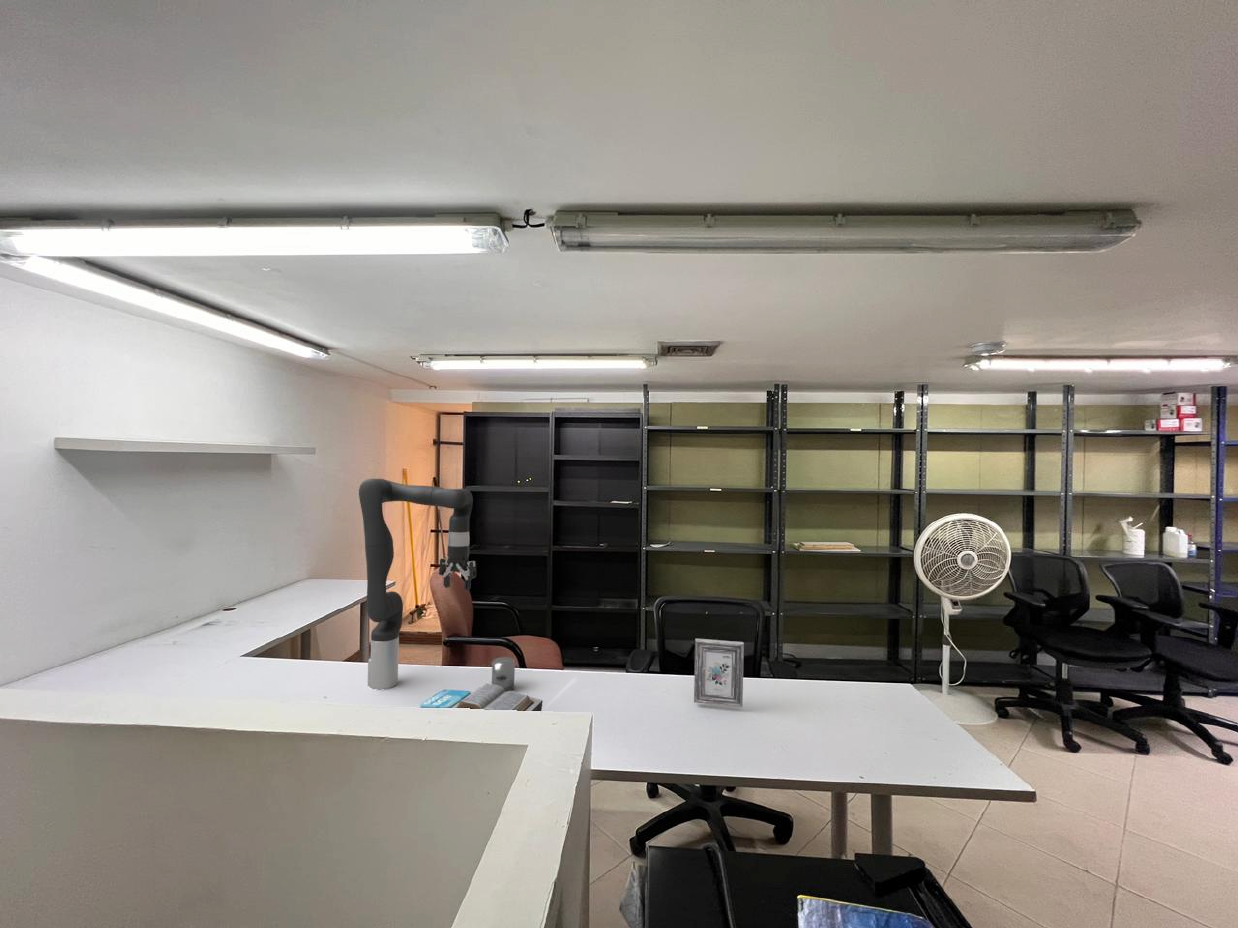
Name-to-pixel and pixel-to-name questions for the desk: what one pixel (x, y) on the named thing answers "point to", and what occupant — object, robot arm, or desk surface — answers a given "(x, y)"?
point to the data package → (445, 699)
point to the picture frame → (718, 672)
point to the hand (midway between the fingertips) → (457, 588)
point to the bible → (499, 700)
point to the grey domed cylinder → (503, 673)
